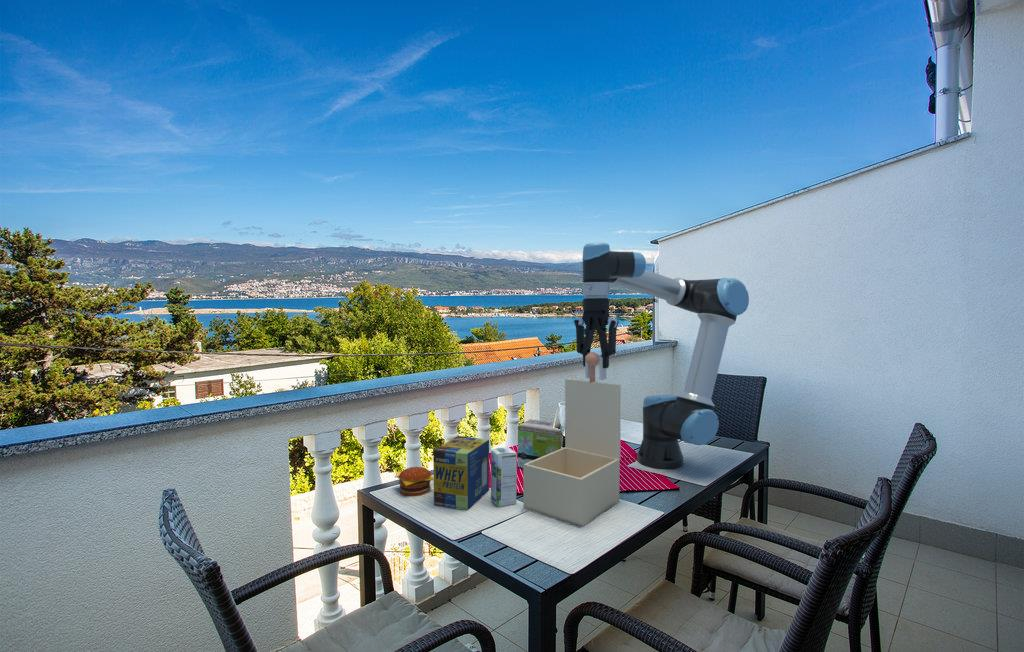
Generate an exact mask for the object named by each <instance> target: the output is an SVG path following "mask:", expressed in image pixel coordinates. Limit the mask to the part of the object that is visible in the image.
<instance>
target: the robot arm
mask: <svg viewBox="0 0 1024 652" xmlns="http://www.w3.org/2000/svg"><path fill="white" fill-rule="evenodd" d="M582 248H583V250H582V258H581V261H582V296H583V297H584V298H583V299H582V311H583V314H582V316H581V317H580V318H577V319H574V320H573V322H574V325H575V337H576V341H575V342H576V352H577V353H578V354H581V355H582V365H583V367H585V369H584V370H585V371H584V372H585V375H584V377H585V379H590V366H589V365H588V364H587V363H586V361H585V357H586V355H587V354H588V353H590V352H591V348H592V344H593V339H594V334H595V331H596V333H597V335H598V339H599V340H598V341H599V346H600V351H601V355H600V356H599V363H598V364H599V372H598V373H599V377H598V378H599V381H603V380H607V369H608V368H609V367H610V356H613V355H615V354H616V351H617V347H616V346H617V328H618V325H619V324H620V321H619V320H618V319H614V318H611V316H610V298H608V297H609V296H610V284H613V285H616V286H619V287H623V288H624V289H625V288H626V289H629V290H632V291H635V292H638V293H641V294H645V295H648V296H651V297H653V298H657V299H661V300H664V301H665V302H666V303H667V304H668V305H670V306H673V307H676V308H679V309H682V310H684V311H688V312H691V313H695V314H697V317H698V318H699V320H700V324H699V328H698V332H697V336H696V340H695V342H694V347H693V348H694V349H693V350H692V351H693V352H692V356H691V361H690V364H689V368H688V371H687V376H686V380H685V384H684V387H683V391H682V392H681V393H680V394H678V395H674V394H658V395H657V394H656V395H649V396H646V397H644V399H643V403H642V405H643V406H642V440H641V443H640V446H639V449H638V452H637V461H638V463H639V464H642V465H644V466H646V467H650V468H655V469H666V470H667V469H677V468H680V467H682V466H683V465H684V456H683V455H684V454H683V452H682V450H681V449H682V448H681V446H680V443H679V440H680V441H683V442H684V443H686V444H689V445H694V446H703V445H706V444H708V443H709V442H711V441H712V440H713V439H714V438H715V436H716V435H717V432H718V431H719V425H720V421H719V417H718V415H717V413H716V412H714V411H715V407H716V405H715V404H714V402H713V400H712V396H713V394H714V389H715V386H716V385H715V384H716V380H717V376H718V373H719V368H720V364H721V361H722V357H723V352H724V348H725V344H726V341H727V336H728V333H729V328H730V327H731V326H733V325H735V324H736V321H737V317H738V316H741V315H743V314H744V312H746V311H747V310H748V307H749V303H750V297H749V292H748V289H747V287H746V285H745V284H744V283H743V281H741V280H739V279H736V278H728V277H723V278H712V279H711V278H710V279H683V278H681V277H676V278H670V277H668V276H665V275H663V274H660V273H659V274H658V273H656V272H653V271H650V270H647V269H646V267H647V265H646V263H647V261H646V257H645V256H644V254H642V253H641V252H638V251H637V252H636V251H633V250H632V251H614V250H611V249H610V244H609V243H607V242H589V243H586V244H585V245H584V246H583V247H582ZM584 325H585V327H584ZM607 325H608V336H607V327H606V326H607Z"/></svg>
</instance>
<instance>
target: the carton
mask: <svg viewBox="0 0 1024 652" xmlns="http://www.w3.org/2000/svg"><path fill="white" fill-rule="evenodd" d="M620 461H621V458H620V459H616V458H612V457H607V456H603V455H598V454H594V453H589V452H584V451H580V450H575V449H571V448H566V447H564V448H562V449H559V450H557V451H554V452H552V453H550V454H547V455H545V456H542V457H540V458H538V459H535V460H533V461H530V462H528V463H526V464H523V468H522V469H523V470H522V471H523V472H522V473H523V475H522V476H523V478H522V479H523V480H522V482H523V484H522V485H523V489H522V490H523V492H522V493H523V497H522V498H523V509H524V510H527V511H531V512H533V513H536V514H538V515H542V516H544V515H545V517H547V516H548V518H550V517H551V519H553V518H554V519H553V520H557V521H559V520H560V521H559V522H563V523H565V524H568V523H569V525H571V524H572V526H574V525H575V527H577V526H579V527H578V528H580V527H582V528H583V527H585V526H587V525H588V524H589V523H590V521H591V522H593V519H594V520H595V519H597V518H598V517H599V515H600V514H601V513H602V514H604V513H605V512H607V511H608V510H609V508H610V507H611V506H613V505H614V504H616V503H617V502H619V503H620V475H621V474H620V473H621V471H620V467H621V466H620V465H621V463H620ZM617 504H618V503H617ZM617 504H616V505H617ZM614 506H615V505H614ZM614 506H613V507H614ZM611 508H612V507H611ZM611 508H610V509H611ZM607 509H608V510H607ZM606 510H607V511H606ZM604 511H605V512H604ZM603 512H604V513H603ZM602 514H601V515H602ZM601 515H600V516H601ZM597 516H598V517H597ZM596 517H597V518H596ZM587 523H588V524H587ZM584 525H585V526H584Z"/></svg>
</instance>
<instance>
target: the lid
mask: <svg viewBox="0 0 1024 652" xmlns="http://www.w3.org/2000/svg"><path fill="white" fill-rule="evenodd" d="M599 357H600V355H599V354H598V353H596V352H594V351H593V352H592V351H590V353H588V354H587V355H586V357H585V361H586V363H587V364H588V365H589V366H590V378H589V380H582V379H573V378H564V383H565V384H564V412H565V414H564V416H565V419H564V424H565V447H566V448H571V449H575V450H580V451H584V452H589V453H593V454H598V455H602V456H607V457H611V458H616V459H620V460H621V389H622V387H621V385H622V384H618V383H608V382H599V381H596V366H597V365H598V364H599Z"/></svg>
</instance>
